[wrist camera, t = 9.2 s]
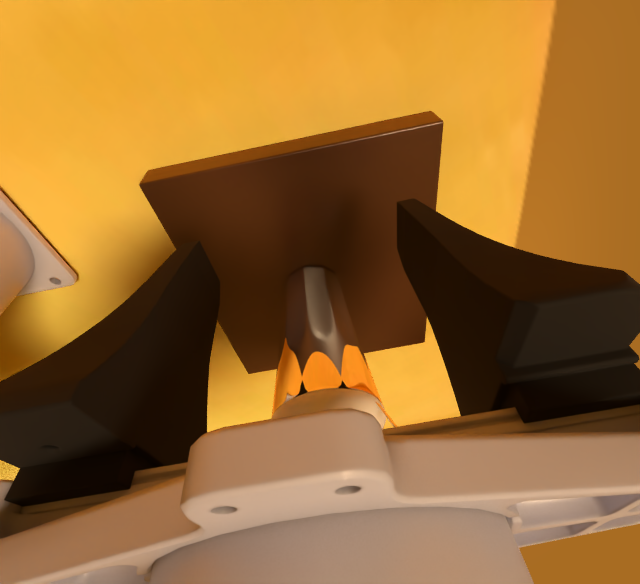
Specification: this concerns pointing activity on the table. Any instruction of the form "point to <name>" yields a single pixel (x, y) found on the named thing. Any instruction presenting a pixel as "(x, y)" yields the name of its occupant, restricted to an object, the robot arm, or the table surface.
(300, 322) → the milkshake
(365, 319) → the board
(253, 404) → the table surface
